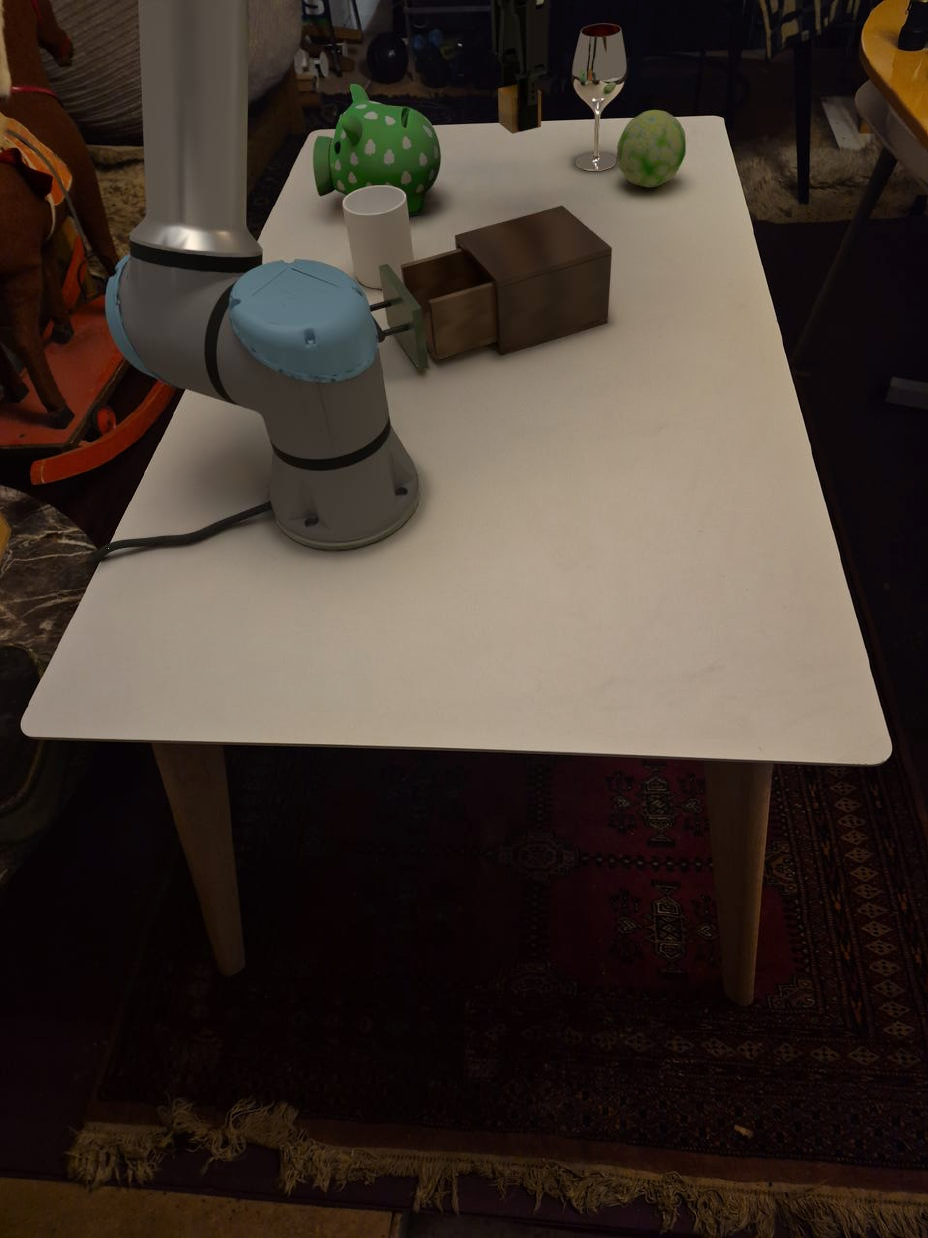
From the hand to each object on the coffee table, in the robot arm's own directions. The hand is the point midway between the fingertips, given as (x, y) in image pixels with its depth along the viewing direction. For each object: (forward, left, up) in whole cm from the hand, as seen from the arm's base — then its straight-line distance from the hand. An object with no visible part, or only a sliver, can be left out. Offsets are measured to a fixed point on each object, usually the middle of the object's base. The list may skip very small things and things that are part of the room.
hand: (520, 122), depth 119 cm
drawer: (-25, -28, -11) cm, 39 cm away
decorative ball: (+19, -4, -12) cm, 23 cm away
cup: (-24, -7, -12) cm, 27 cm away
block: (0, 0, 0) cm, 0 cm away
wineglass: (+16, +7, -12) cm, 21 cm away
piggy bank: (-18, +11, -12) cm, 24 cm away
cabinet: (-12, -28, -12) cm, 32 cm away
